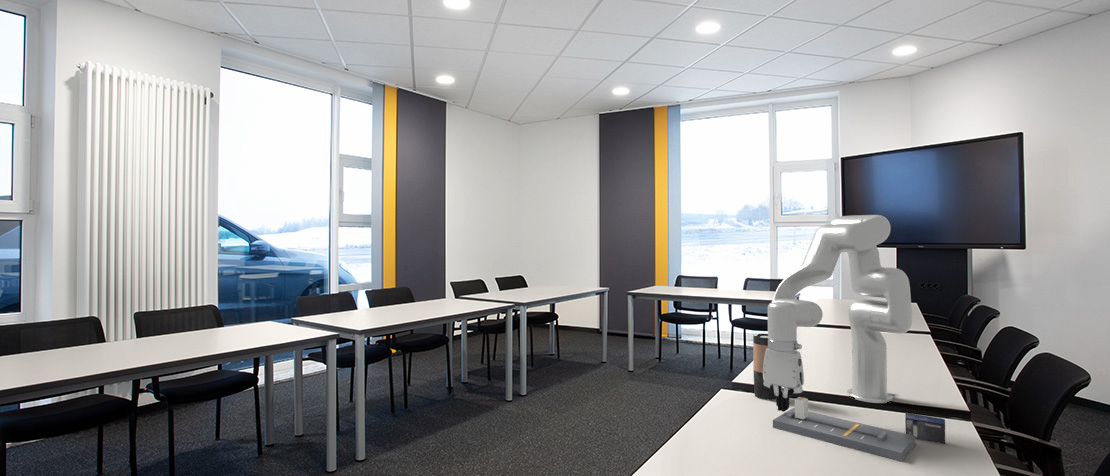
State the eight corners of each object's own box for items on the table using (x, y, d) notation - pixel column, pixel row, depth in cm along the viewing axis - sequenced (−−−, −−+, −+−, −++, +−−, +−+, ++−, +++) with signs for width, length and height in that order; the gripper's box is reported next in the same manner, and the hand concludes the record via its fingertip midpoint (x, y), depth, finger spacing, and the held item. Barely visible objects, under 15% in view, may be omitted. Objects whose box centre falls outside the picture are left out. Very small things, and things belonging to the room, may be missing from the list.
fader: (799, 414, 143) (798, 396, 143) (808, 416, 141) (807, 398, 141) (794, 417, 141) (794, 398, 141) (803, 419, 139) (803, 400, 139)
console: (793, 414, 150) (793, 405, 150) (915, 444, 128) (915, 432, 128) (772, 427, 140) (772, 417, 140) (901, 461, 118) (901, 449, 118)
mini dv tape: (905, 437, 132) (905, 414, 132) (905, 435, 133) (905, 412, 133) (945, 444, 128) (945, 420, 128) (944, 442, 129) (944, 418, 129)
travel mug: (781, 400, 162) (780, 338, 162) (756, 399, 164) (755, 337, 164) (775, 393, 170) (775, 333, 170) (751, 392, 171) (751, 333, 171)
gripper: (814, 347, 142) (815, 413, 142) (762, 340, 153) (763, 401, 153) (804, 352, 137) (805, 420, 137) (750, 344, 148) (751, 407, 148)
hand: (782, 409), depth 145 cm, fingers closed
